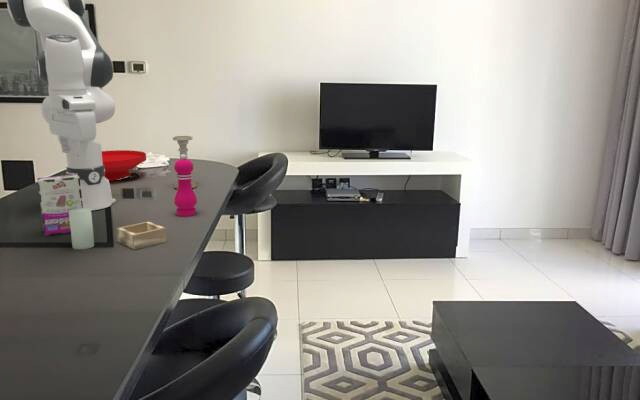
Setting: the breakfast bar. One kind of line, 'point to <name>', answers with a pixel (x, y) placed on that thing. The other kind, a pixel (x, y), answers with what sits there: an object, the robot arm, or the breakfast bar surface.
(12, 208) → the breakfast bar surface
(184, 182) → the pepper mill
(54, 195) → the candy bar box
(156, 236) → the square wooden tray
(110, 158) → the bowl
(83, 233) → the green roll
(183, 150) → the candle holder
